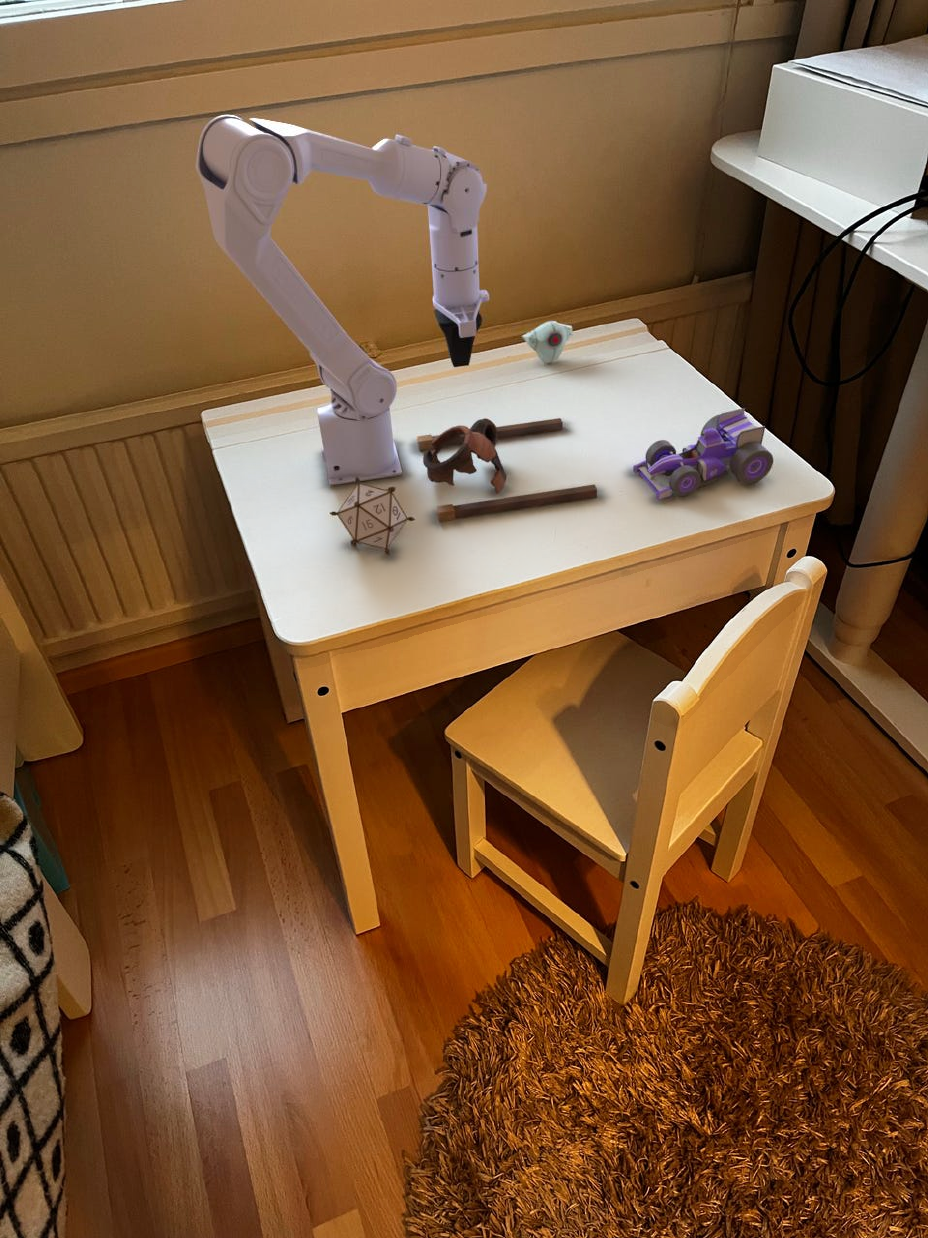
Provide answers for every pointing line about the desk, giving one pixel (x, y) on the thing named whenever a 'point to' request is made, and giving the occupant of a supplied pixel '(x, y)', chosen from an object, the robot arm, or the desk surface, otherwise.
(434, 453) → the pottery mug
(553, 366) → the desk surface
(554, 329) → the robot head
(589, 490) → the walnut slot
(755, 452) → the toy race car
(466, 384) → the desk surface
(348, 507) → the game die
